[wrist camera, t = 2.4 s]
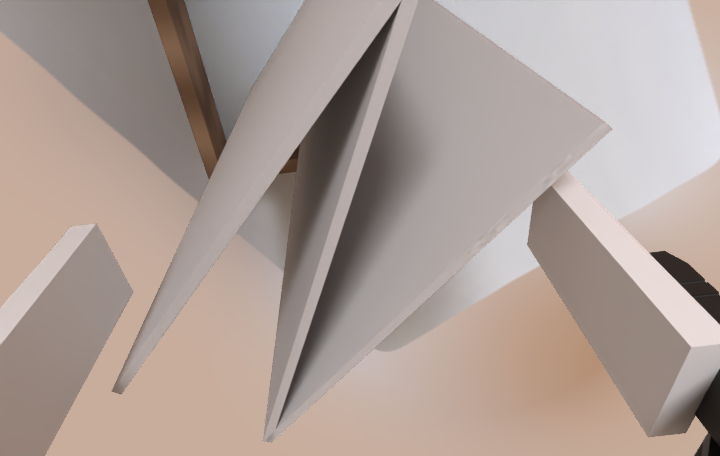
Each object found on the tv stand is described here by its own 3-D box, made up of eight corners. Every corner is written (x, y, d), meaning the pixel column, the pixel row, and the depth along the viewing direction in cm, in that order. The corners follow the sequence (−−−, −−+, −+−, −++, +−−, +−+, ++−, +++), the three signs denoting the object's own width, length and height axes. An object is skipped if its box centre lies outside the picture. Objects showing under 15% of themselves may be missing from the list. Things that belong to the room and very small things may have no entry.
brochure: (305, 124, 40) (270, 443, 15) (251, 88, 38) (110, 392, 13) (405, -20, 34) (612, 129, 9) (348, -71, 32) (419, -55, 7)
